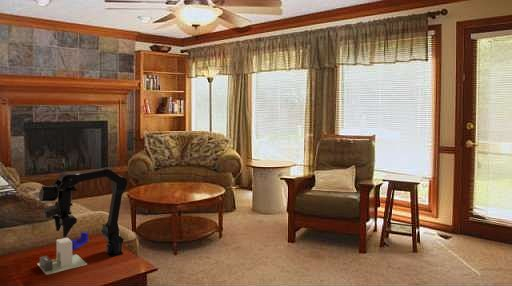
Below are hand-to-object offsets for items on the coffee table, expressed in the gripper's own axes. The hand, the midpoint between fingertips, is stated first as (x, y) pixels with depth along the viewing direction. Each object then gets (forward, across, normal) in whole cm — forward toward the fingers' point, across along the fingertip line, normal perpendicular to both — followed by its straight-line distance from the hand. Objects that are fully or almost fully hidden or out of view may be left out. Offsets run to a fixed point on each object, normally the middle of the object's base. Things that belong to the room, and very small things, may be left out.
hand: (60, 233), depth 195 cm
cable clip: (+14, -18, +15) cm, 28 cm away
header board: (+16, 0, +2) cm, 16 cm away
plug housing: (+14, 0, +3) cm, 15 cm away
